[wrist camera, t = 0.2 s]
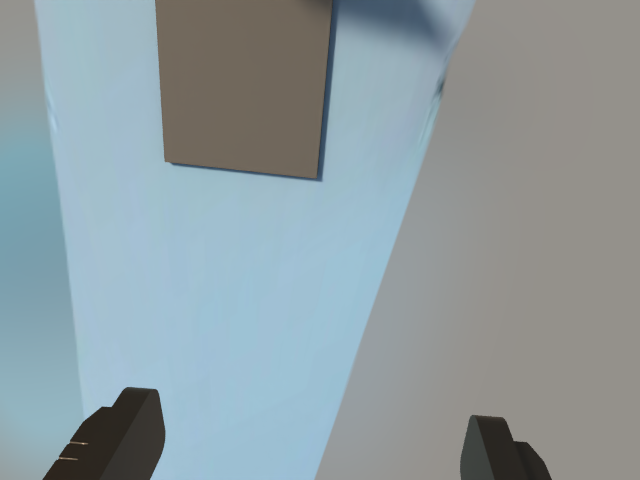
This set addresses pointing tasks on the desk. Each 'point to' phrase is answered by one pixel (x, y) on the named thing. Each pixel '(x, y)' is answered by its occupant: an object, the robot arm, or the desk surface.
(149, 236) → the desk surface
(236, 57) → the mat
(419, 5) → the desk surface
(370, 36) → the desk surface
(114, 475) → the robot arm
